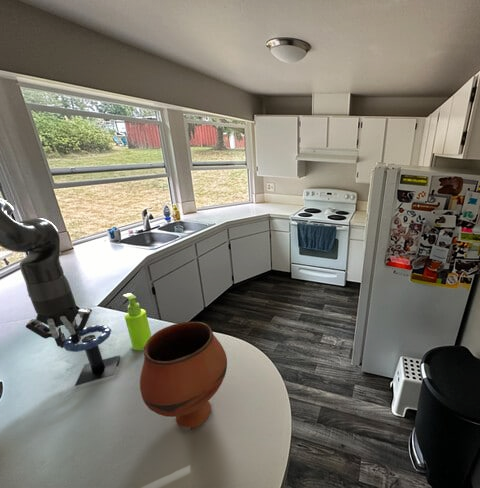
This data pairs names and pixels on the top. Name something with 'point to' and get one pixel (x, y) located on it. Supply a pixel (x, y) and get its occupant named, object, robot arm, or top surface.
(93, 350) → the ring toss peg
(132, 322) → the soap dispenser
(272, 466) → the top surface
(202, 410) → the goblet
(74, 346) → the ring
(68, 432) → the top surface
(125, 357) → the top surface
